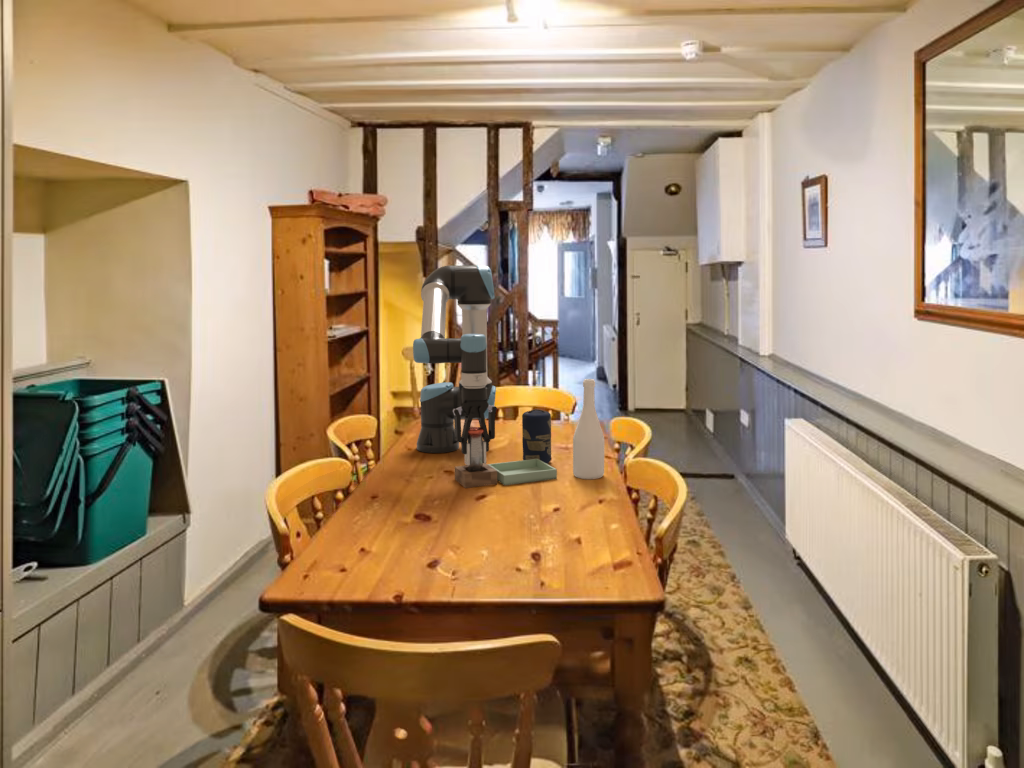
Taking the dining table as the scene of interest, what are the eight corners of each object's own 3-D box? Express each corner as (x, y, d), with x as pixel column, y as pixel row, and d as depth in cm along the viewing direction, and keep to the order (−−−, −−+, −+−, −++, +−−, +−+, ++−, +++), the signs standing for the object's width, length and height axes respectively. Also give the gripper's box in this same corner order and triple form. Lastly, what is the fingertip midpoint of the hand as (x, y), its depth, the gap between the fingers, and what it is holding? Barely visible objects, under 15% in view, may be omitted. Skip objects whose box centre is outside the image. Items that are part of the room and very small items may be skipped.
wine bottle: (566, 476, 229) (566, 379, 225) (585, 470, 236) (586, 376, 232) (591, 481, 223) (592, 382, 218) (610, 475, 230) (611, 379, 225)
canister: (548, 467, 240) (548, 412, 237) (520, 465, 242) (519, 411, 239) (553, 459, 249) (553, 407, 247) (525, 458, 251) (525, 406, 249)
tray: (487, 473, 233) (487, 464, 233) (537, 467, 239) (537, 458, 239) (504, 485, 220) (504, 475, 220) (556, 478, 226) (556, 469, 226)
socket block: (454, 479, 227) (454, 466, 226) (485, 475, 231) (485, 463, 230) (465, 488, 218) (465, 474, 217) (497, 484, 221) (497, 471, 221)
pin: (464, 480, 226) (462, 428, 223) (481, 478, 228) (480, 426, 225) (470, 485, 221) (469, 431, 218) (487, 482, 223) (486, 429, 220)
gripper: (449, 390, 213) (451, 469, 217) (506, 386, 220) (507, 463, 223) (442, 386, 220) (443, 463, 223) (497, 382, 226) (498, 457, 230)
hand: (475, 463), depth 223 cm, fingers closed on pin, 4 cm apart
